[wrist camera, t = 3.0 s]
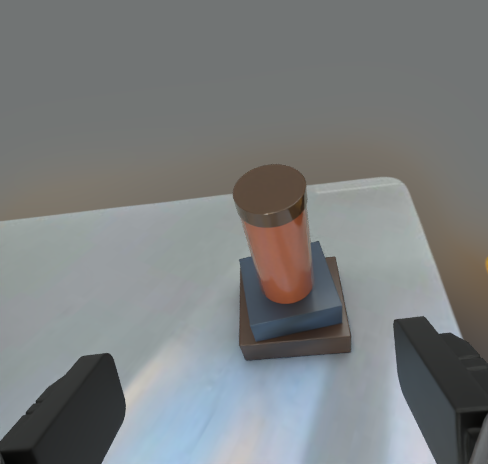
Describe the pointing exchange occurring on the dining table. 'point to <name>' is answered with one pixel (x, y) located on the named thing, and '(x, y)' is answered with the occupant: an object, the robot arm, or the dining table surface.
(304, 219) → the terracotta canister
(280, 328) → the block stack
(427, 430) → the robot arm
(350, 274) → the dining table surface
